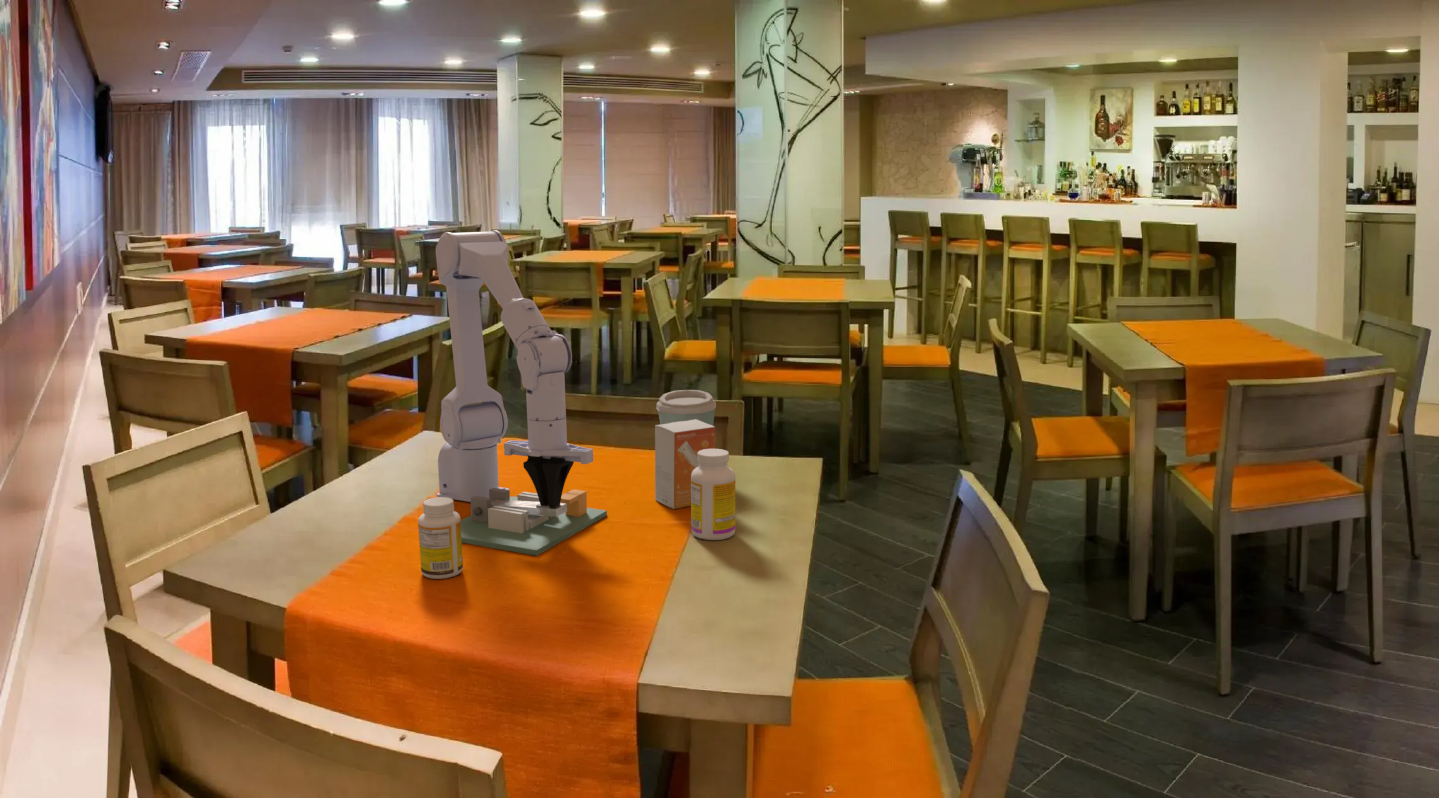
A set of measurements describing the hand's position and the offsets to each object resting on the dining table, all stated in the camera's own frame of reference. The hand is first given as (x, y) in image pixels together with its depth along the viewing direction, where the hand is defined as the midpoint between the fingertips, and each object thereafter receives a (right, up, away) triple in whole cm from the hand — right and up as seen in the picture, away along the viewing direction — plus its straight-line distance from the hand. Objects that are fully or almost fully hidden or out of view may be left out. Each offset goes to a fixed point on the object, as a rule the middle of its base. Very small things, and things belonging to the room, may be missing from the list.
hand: (550, 504), depth 163 cm
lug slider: (+3, -2, +5) cm, 6 cm away
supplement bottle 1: (-12, -8, -16) cm, 22 cm away
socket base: (-5, -4, +3) cm, 6 cm away
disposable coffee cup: (+20, +2, +30) cm, 36 cm away
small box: (+20, -1, +16) cm, 25 cm away
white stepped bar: (-4, -1, +2) cm, 5 cm away
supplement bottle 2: (+25, -5, 0) cm, 25 cm away
